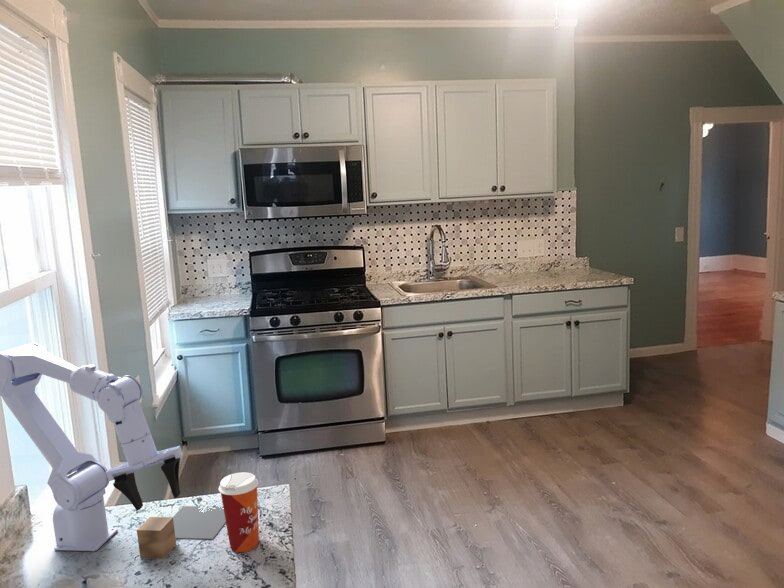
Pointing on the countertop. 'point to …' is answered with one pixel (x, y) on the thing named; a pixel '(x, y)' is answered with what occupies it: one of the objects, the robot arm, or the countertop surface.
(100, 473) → the robot arm
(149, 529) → the walnut block
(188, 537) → the slate mat
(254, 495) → the paper cup
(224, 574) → the countertop surface
